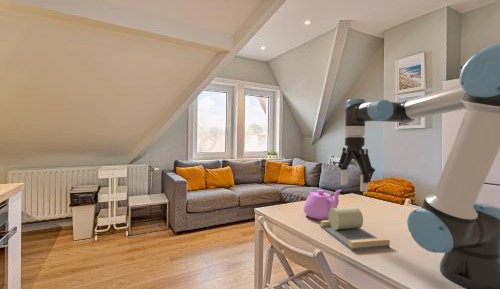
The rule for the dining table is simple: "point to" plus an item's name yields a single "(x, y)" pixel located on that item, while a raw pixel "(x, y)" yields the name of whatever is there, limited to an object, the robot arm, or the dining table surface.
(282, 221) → the dining table surface
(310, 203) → the teapot
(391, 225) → the dining table surface
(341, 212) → the can
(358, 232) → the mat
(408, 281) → the dining table surface
